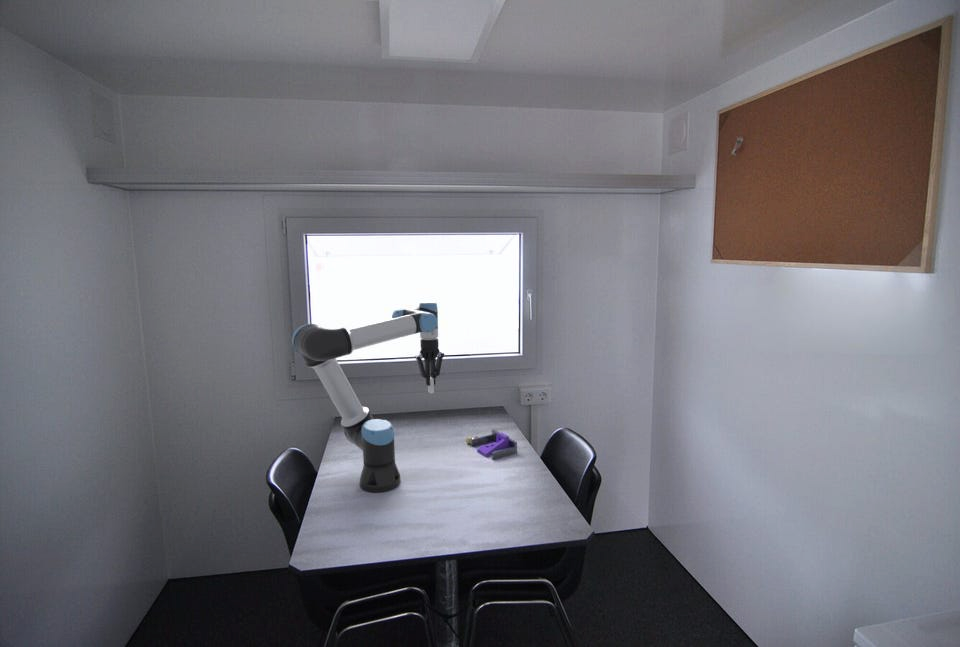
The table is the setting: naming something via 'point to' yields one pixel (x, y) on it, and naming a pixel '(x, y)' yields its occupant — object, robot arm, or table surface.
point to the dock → (492, 437)
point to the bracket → (495, 445)
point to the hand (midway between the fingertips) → (431, 392)
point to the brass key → (470, 439)
